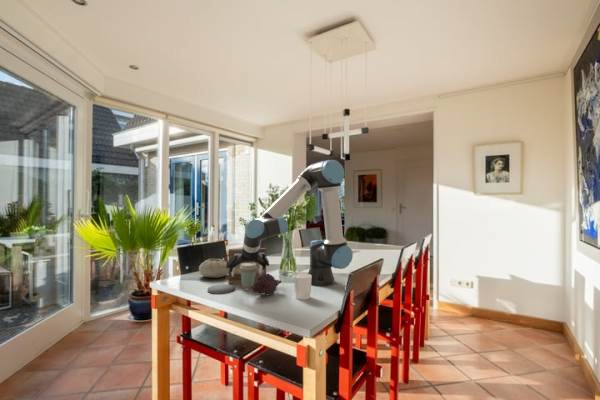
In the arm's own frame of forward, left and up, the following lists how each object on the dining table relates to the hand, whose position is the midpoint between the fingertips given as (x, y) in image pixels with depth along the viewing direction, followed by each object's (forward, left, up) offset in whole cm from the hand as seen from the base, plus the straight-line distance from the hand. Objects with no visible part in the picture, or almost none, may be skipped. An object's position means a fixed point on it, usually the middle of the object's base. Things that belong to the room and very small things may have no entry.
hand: (246, 273), depth 149 cm
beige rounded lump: (+33, 0, -8) cm, 34 cm away
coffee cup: (+2, -2, -8) cm, 9 cm away
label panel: (+11, -8, -8) cm, 16 cm away
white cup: (-28, -13, -8) cm, 32 cm away
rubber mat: (+7, +10, -8) cm, 14 cm away
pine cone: (-14, -2, -8) cm, 16 cm away
